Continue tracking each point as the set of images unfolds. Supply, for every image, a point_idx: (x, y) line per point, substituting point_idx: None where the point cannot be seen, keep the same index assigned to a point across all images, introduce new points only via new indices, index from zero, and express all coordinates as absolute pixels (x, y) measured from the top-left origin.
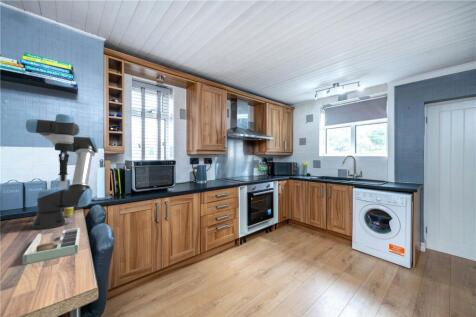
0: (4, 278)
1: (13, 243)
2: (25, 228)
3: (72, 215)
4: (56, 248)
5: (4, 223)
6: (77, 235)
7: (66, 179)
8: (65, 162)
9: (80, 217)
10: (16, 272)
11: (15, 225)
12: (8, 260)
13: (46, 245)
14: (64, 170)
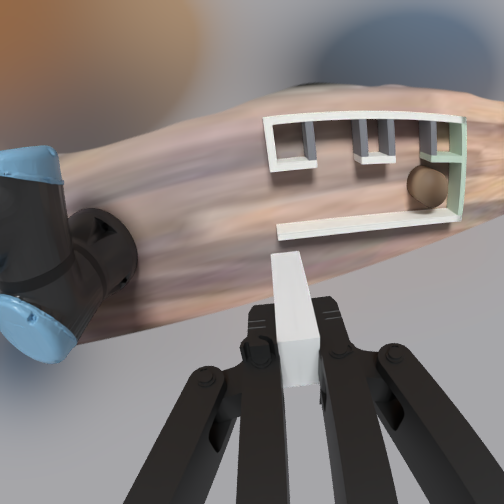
0: (484, 222)
1: (267, 282)
2: (112, 301)
3: None
4: (462, 162)
5: None
6: (378, 116)
7: (291, 298)
8: (502, 474)
9: None
10: (475, 212)
11: None
12: (407, 246)
13: (435, 187)
14: (426, 386)
